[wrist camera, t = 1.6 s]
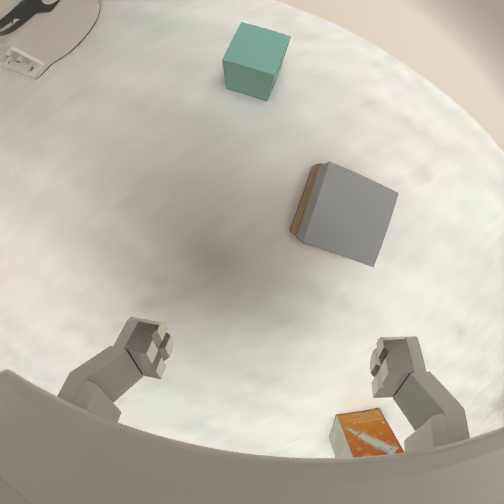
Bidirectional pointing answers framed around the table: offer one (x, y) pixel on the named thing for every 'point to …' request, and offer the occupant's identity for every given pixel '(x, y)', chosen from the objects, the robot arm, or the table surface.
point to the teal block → (254, 60)
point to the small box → (363, 435)
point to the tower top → (347, 214)
